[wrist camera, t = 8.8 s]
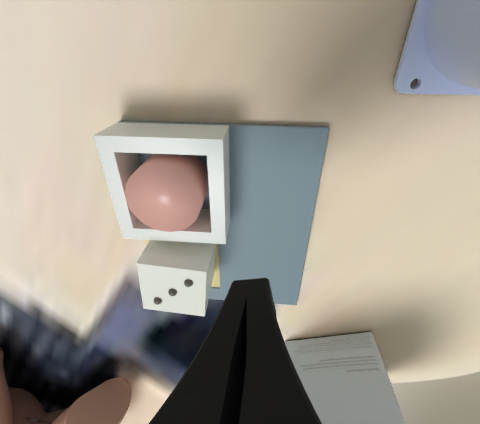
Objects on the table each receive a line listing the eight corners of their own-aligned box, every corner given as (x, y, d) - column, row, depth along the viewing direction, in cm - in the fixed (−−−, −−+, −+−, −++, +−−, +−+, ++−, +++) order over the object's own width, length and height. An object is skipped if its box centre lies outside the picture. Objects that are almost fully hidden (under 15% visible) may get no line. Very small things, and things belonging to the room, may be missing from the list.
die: (217, 230, 21) (205, 275, 17) (214, 271, 23) (203, 319, 19) (159, 223, 21) (134, 266, 17) (163, 265, 23) (141, 311, 19)
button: (207, 148, 17) (197, 167, 14) (211, 208, 19) (203, 233, 17) (138, 145, 17) (116, 163, 14) (150, 205, 19) (133, 229, 17)
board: (327, 126, 16) (329, 128, 16) (296, 301, 25) (296, 304, 25) (120, 120, 17) (117, 122, 17) (159, 292, 26) (157, 295, 25)
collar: (229, 125, 16) (222, 139, 14) (230, 220, 20) (225, 244, 18) (117, 122, 17) (93, 135, 14) (139, 215, 20) (122, 238, 18)
